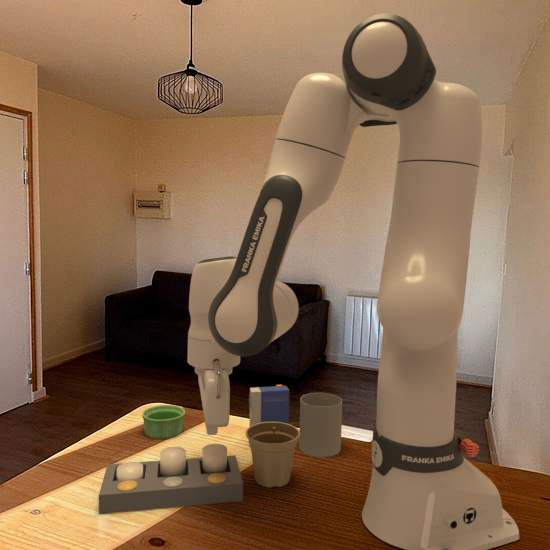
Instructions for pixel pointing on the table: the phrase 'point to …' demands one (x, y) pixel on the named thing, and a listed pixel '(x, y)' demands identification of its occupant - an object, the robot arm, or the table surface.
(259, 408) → the walkman
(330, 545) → the table surface
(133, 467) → the button
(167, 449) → the button
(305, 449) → the cup
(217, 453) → the button
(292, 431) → the flower pot
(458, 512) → the robot arm
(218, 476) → the board
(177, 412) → the ramekin
